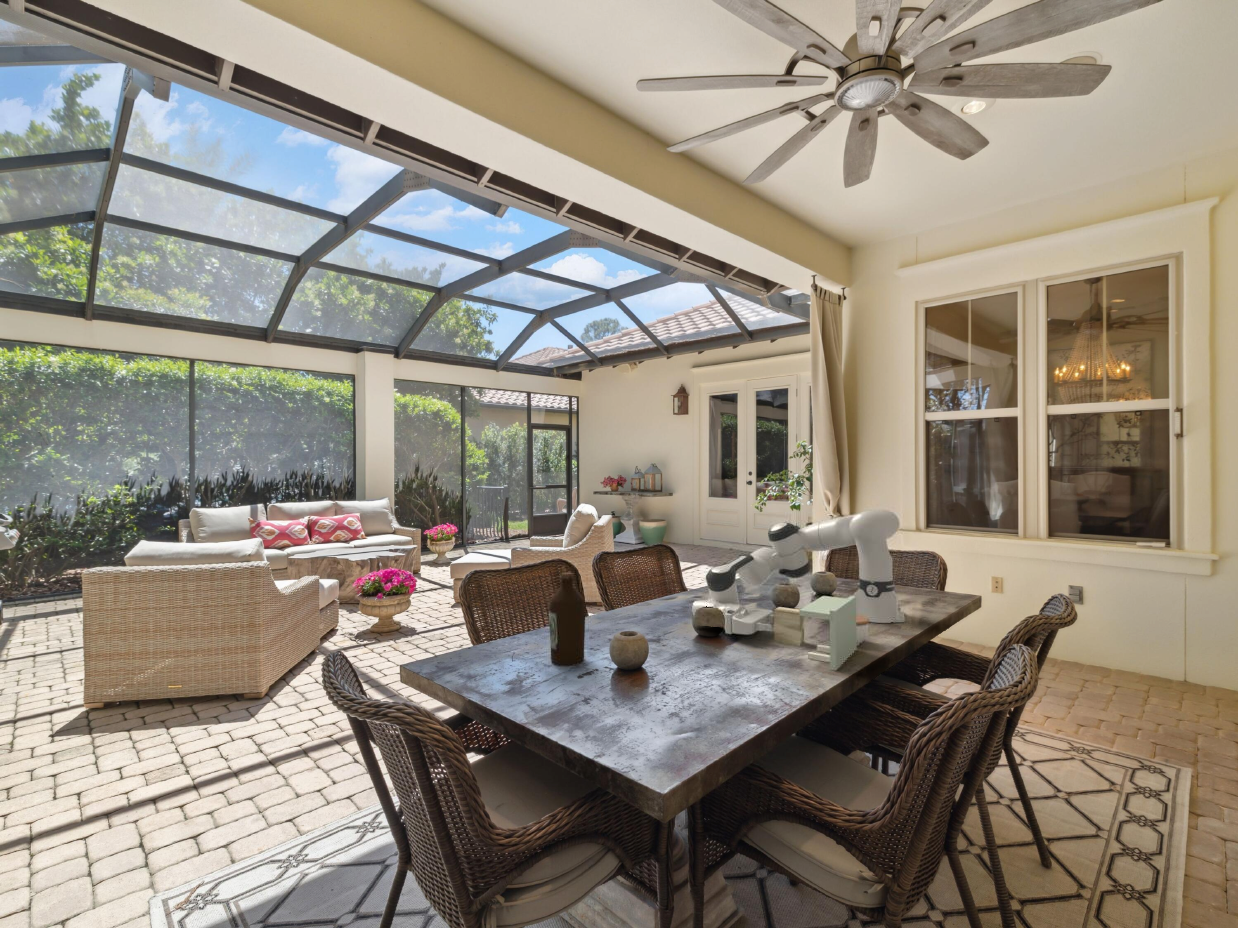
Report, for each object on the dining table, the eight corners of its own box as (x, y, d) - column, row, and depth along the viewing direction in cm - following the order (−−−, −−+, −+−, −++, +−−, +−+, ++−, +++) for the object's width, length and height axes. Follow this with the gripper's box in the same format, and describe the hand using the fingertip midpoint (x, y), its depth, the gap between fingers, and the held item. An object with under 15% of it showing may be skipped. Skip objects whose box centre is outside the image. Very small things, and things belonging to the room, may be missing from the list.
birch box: (779, 638, 191) (779, 606, 191) (804, 642, 186) (803, 610, 186) (774, 641, 187) (773, 609, 187) (799, 645, 183) (799, 613, 183)
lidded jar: (874, 647, 180) (874, 616, 180) (839, 647, 180) (838, 616, 180) (861, 637, 191) (860, 608, 191) (827, 637, 191) (827, 608, 191)
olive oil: (581, 653, 177) (580, 569, 177) (590, 664, 167) (589, 575, 167) (545, 656, 174) (545, 571, 174) (552, 668, 163) (552, 577, 164)
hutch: (823, 644, 183) (823, 592, 184) (856, 649, 178) (856, 596, 178) (799, 663, 166) (799, 606, 166) (835, 670, 160) (835, 611, 160)
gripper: (749, 620, 205) (788, 626, 197) (723, 634, 188) (765, 642, 180) (749, 602, 205) (788, 607, 197) (723, 614, 188) (765, 621, 180)
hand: (777, 624), depth 188 cm, fingers open, 8 cm apart
